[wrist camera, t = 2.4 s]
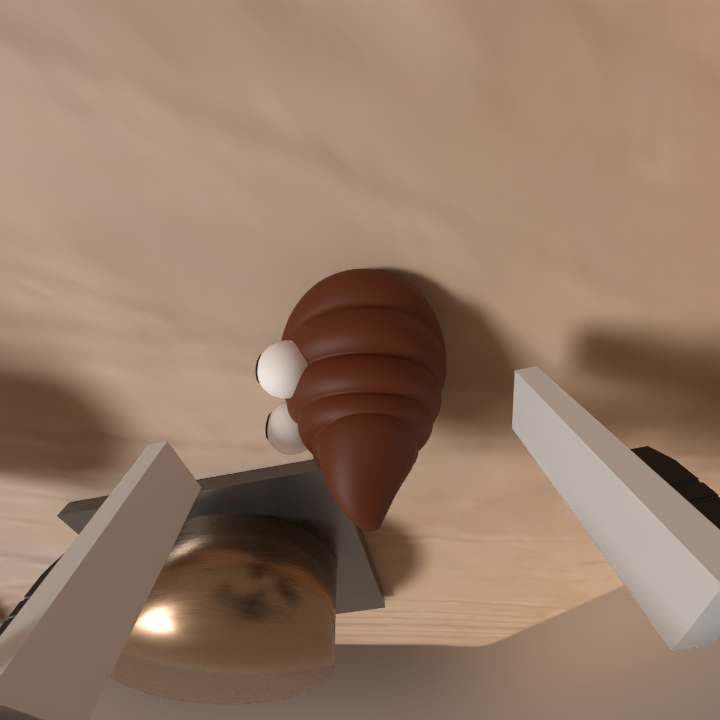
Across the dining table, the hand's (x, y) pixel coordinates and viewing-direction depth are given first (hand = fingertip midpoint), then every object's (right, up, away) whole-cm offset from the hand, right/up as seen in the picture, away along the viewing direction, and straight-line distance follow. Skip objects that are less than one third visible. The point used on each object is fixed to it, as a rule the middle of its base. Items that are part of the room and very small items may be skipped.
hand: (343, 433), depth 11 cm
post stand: (-9, -14, +14) cm, 22 cm away
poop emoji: (+1, +3, +5) cm, 6 cm away
